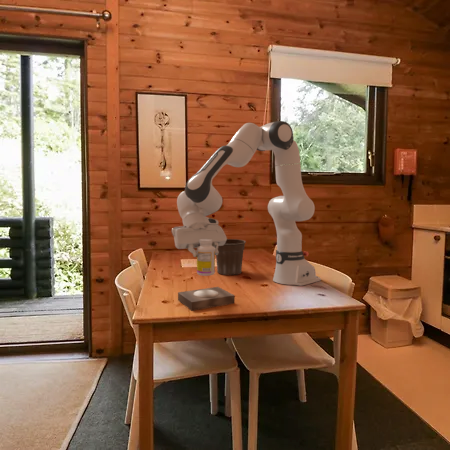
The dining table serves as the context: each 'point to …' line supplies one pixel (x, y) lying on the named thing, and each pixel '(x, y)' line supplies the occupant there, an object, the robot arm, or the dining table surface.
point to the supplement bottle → (206, 258)
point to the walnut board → (205, 298)
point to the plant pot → (230, 257)
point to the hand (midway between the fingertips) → (206, 255)
